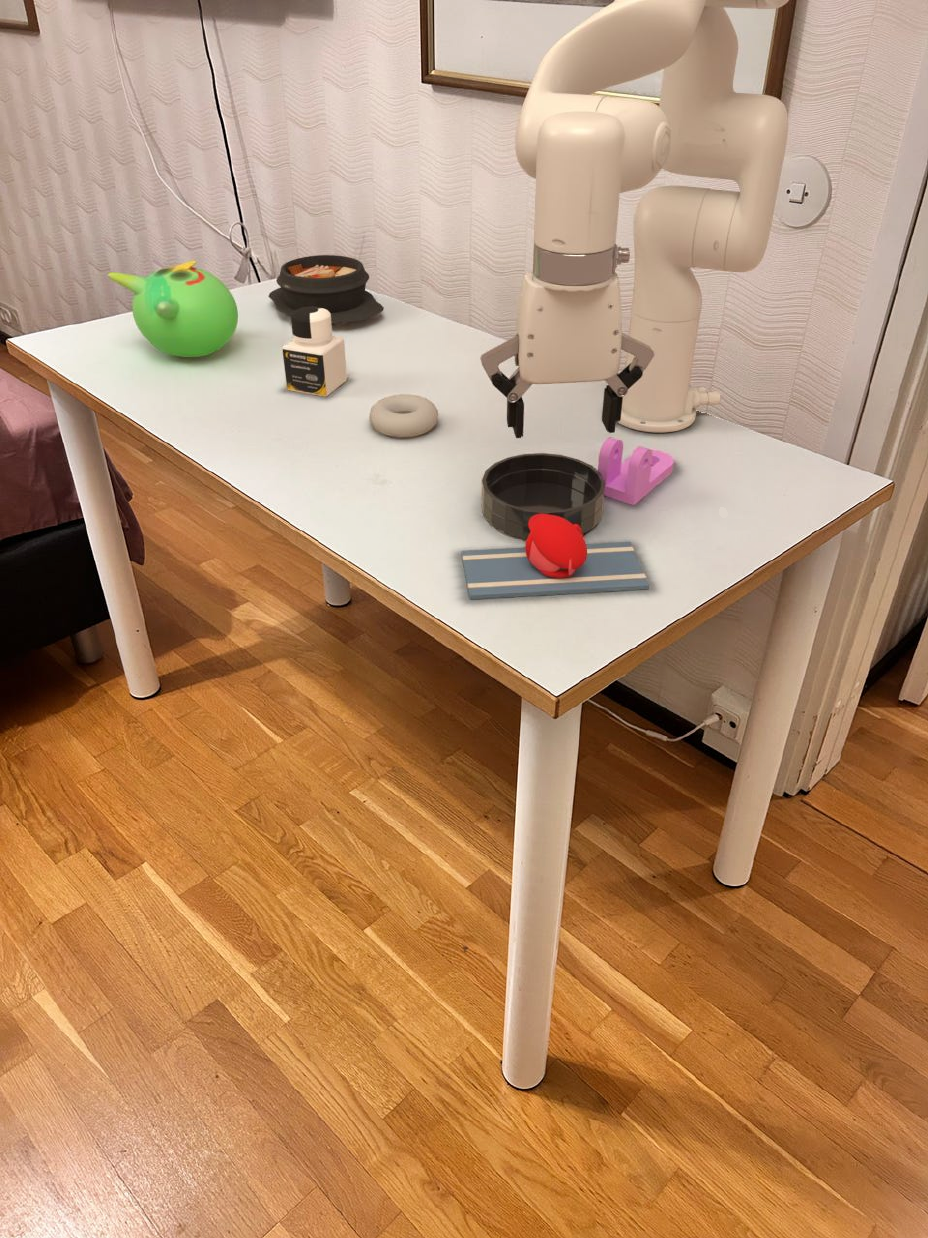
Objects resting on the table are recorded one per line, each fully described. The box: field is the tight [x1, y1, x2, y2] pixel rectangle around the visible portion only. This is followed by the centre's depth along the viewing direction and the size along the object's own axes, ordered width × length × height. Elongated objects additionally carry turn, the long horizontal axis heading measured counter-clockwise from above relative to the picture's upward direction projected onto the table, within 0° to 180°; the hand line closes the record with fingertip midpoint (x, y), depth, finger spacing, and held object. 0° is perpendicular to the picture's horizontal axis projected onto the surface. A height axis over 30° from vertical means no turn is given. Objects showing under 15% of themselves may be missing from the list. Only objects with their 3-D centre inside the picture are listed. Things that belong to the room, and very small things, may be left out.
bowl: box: [481, 452, 606, 540], centre depth 116 cm, size 15×15×4 cm
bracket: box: [597, 436, 675, 506], centre depth 122 cm, size 13×6×7 cm, turn 144°
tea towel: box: [461, 541, 650, 601], centre depth 106 cm, size 20×9×1 cm, turn 96°
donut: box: [368, 393, 439, 438], centre depth 136 cm, size 10×4×10 cm
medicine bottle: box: [281, 306, 348, 398], centre depth 145 cm, size 7×7×12 cm
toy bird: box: [107, 260, 239, 358], centre depth 155 cm, size 18×17×15 cm
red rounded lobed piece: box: [524, 514, 587, 578], centre depth 104 cm, size 8×6×6 cm
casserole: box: [268, 254, 385, 325], centre depth 173 cm, size 25×19×8 cm
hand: (562, 429), depth 98 cm, fingers open, 9 cm apart
